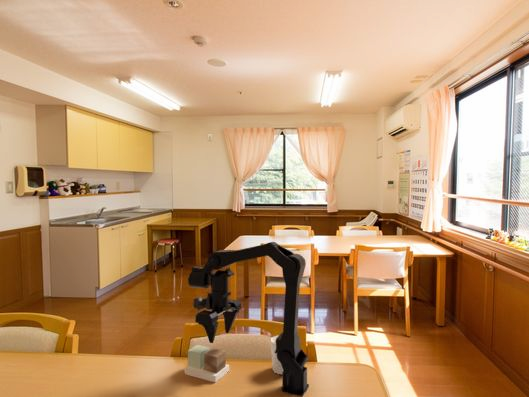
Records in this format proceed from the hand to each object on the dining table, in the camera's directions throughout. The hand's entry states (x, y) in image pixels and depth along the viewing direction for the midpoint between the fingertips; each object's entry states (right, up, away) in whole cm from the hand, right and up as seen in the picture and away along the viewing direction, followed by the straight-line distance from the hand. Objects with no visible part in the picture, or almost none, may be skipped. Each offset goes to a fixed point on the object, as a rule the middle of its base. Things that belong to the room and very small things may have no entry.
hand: (219, 337), depth 107 cm
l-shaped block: (-4, -12, +1) cm, 12 cm away
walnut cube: (-2, -10, -1) cm, 10 cm away
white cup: (+21, -12, +2) cm, 24 cm away
